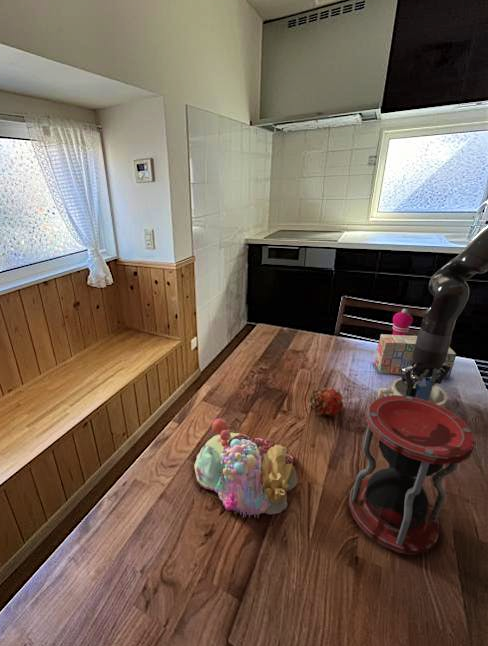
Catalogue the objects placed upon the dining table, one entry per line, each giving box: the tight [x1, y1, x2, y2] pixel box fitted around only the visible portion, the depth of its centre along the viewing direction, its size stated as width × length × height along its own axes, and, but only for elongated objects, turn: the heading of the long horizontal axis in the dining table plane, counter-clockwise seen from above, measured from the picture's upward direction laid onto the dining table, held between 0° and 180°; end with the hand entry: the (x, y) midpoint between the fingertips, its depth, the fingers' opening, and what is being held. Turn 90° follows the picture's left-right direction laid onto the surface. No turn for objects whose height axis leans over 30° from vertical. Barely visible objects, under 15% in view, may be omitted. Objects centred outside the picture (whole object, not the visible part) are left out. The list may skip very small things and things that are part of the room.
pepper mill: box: [391, 308, 414, 335], centre depth 121 cm, size 7×7×20 cm
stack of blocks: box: [374, 333, 457, 379], centre depth 115 cm, size 21×6×12 cm, turn 76°
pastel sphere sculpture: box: [193, 418, 299, 519], centre depth 80 cm, size 25×24×9 cm
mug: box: [376, 377, 449, 409], centre depth 100 cm, size 17×14×6 cm
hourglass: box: [348, 395, 476, 556], centre depth 65 cm, size 16×16×25 cm
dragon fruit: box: [309, 387, 344, 418], centre depth 99 cm, size 8×8×12 cm
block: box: [406, 378, 433, 401], centre depth 99 cm, size 4×4×8 cm
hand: (417, 395), depth 99 cm, fingers closed on block, 4 cm apart
